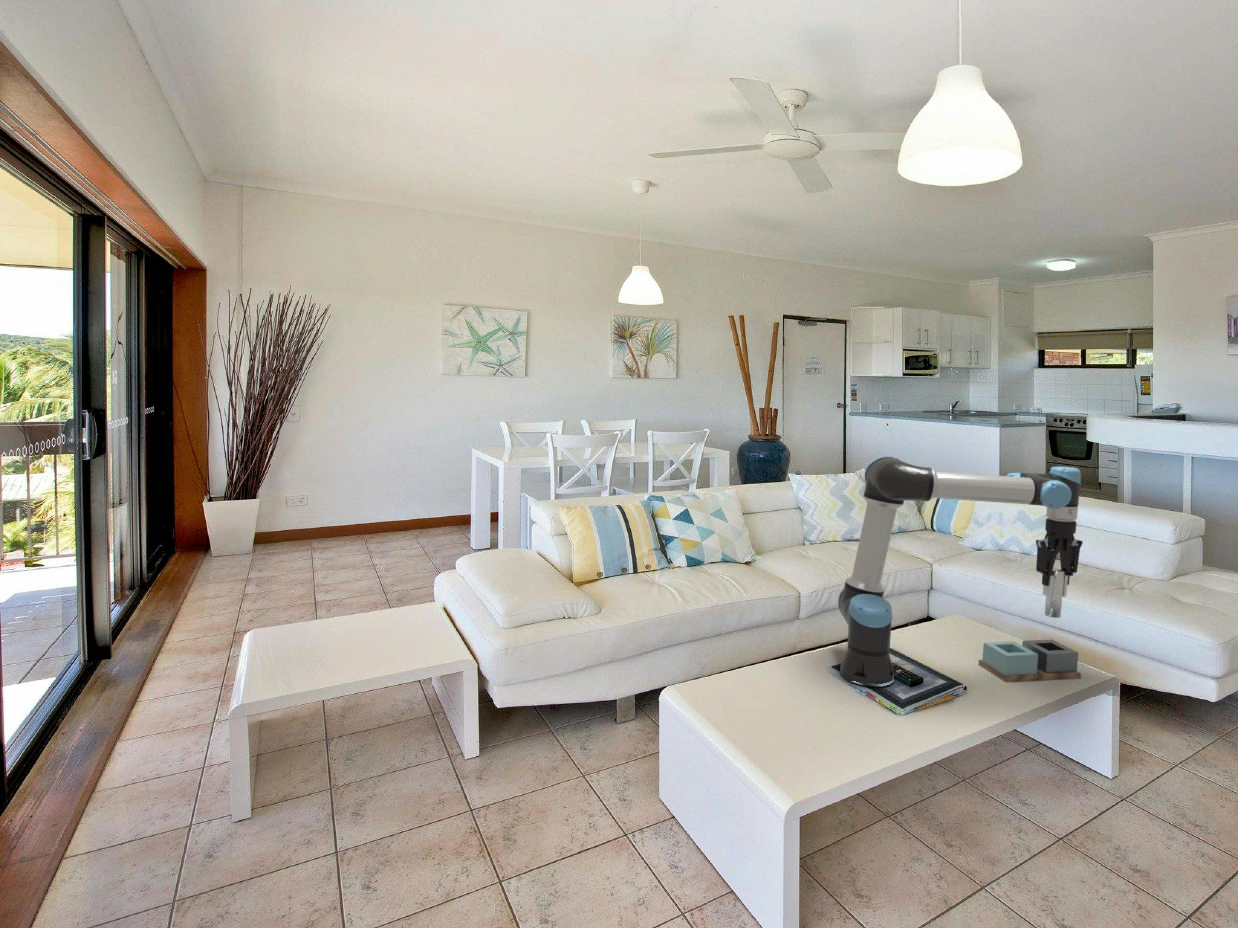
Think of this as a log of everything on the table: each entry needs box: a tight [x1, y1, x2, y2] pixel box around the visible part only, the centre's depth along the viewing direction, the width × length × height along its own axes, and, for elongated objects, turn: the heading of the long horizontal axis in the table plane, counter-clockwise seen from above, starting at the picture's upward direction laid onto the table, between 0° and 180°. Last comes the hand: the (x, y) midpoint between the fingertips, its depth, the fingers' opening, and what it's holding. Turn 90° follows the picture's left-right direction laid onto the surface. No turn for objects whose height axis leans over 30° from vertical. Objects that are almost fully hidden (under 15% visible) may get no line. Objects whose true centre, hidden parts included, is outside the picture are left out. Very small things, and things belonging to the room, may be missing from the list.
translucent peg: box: [1044, 567, 1065, 619], centre depth 194 cm, size 4×4×14 cm
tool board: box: [978, 659, 1082, 683], centre depth 196 cm, size 24×12×2 cm, turn 96°
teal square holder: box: [981, 640, 1038, 675], centre depth 195 cm, size 10×10×6 cm
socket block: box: [1021, 639, 1079, 673], centre depth 196 cm, size 10×10×6 cm
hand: (1054, 595), depth 194 cm, fingers closed on translucent peg, 4 cm apart
